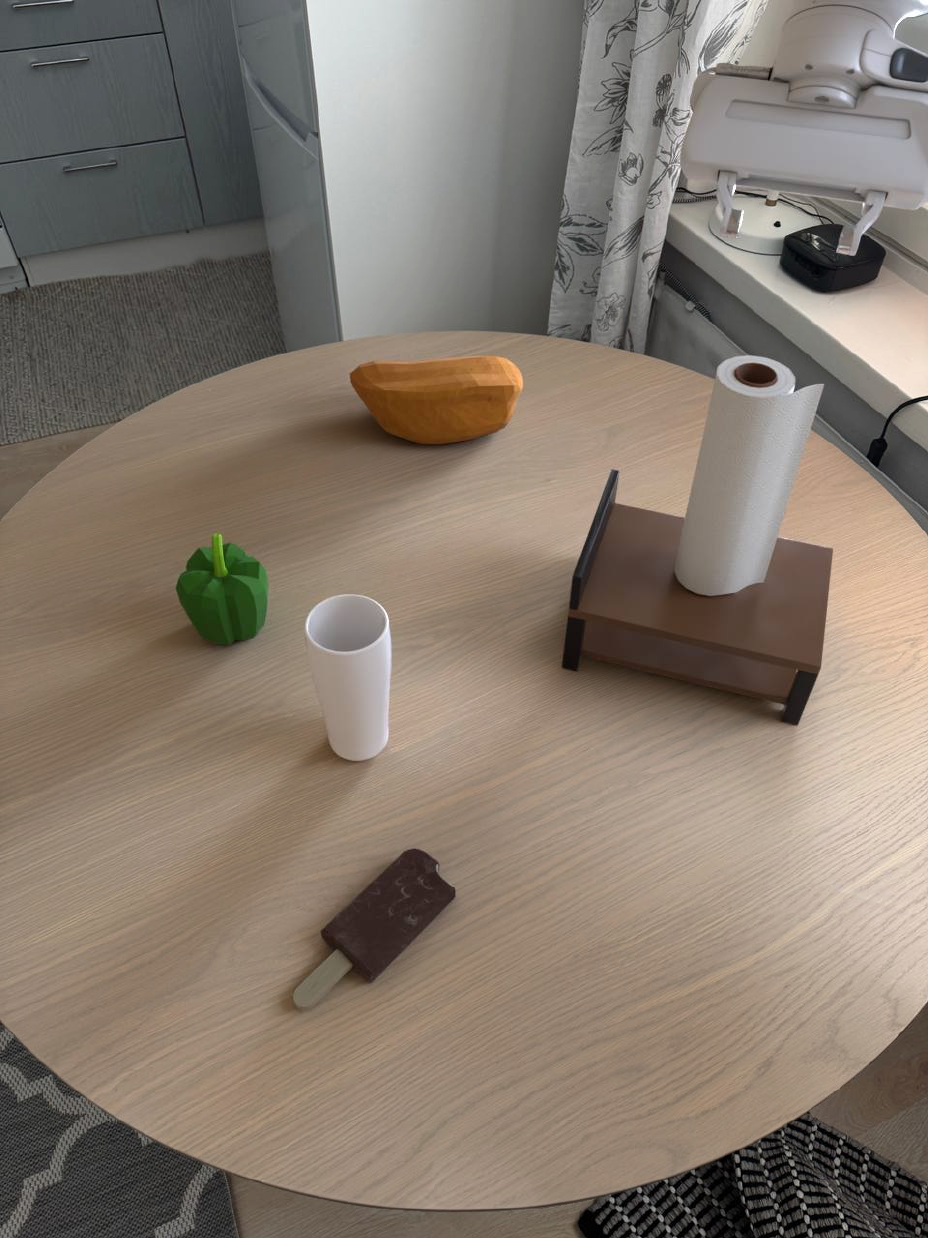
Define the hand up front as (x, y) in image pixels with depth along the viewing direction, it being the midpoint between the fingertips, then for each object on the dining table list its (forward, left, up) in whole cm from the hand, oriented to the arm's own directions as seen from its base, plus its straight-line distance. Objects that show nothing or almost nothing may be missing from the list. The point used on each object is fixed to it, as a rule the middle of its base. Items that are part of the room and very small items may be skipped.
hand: (786, 243), depth 81 cm
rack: (0, +12, -34) cm, 37 cm away
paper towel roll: (0, +12, -27) cm, 29 cm away
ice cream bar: (+18, +51, -35) cm, 64 cm away
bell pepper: (+43, +25, -35) cm, 61 cm away
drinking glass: (+26, +34, -35) cm, 55 cm away
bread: (+36, -15, -35) cm, 52 cm away
